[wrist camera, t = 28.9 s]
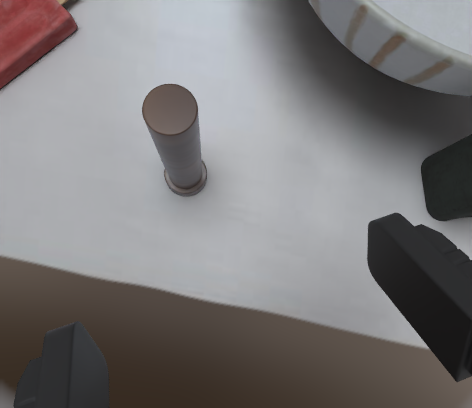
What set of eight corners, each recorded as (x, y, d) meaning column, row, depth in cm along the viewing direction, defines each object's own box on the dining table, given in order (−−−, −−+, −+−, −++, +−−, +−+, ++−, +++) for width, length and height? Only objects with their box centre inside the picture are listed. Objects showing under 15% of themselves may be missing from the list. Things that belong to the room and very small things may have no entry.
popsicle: (122, -28, 29) (-40, 104, 27) (127, -11, 31) (-25, 114, 29) (81, -67, 30) (-83, 60, 27) (88, -48, 31) (-65, 73, 29)
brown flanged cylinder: (170, 200, 28) (141, 148, 17) (162, 160, 29) (129, 83, 17) (210, 191, 29) (210, 134, 17) (202, 153, 29) (196, 71, 17)
